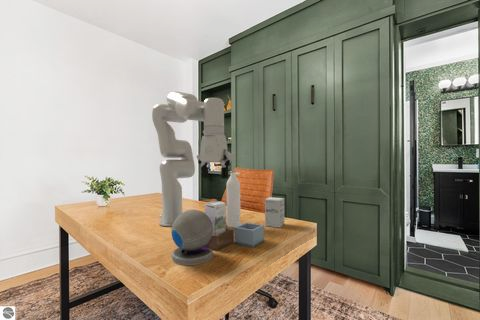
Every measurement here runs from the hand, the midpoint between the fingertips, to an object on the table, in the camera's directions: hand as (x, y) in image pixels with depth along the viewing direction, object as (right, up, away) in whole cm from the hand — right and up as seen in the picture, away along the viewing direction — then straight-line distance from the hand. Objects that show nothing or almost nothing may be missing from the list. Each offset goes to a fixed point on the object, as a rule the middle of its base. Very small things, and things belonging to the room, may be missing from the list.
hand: (214, 177), depth 87 cm
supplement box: (+26, -24, +23) cm, 42 cm away
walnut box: (0, -24, -1) cm, 24 cm away
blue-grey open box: (+13, -24, 0) cm, 28 cm away
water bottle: (+7, -25, +24) cm, 35 cm away
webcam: (-6, -25, -12) cm, 28 cm away
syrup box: (0, -24, -1) cm, 24 cm away
